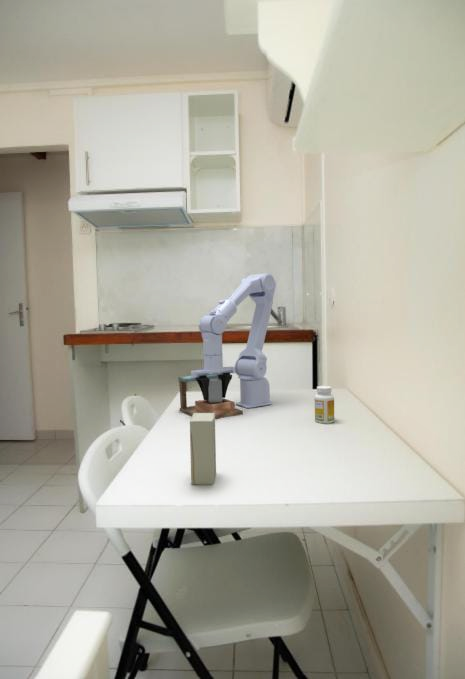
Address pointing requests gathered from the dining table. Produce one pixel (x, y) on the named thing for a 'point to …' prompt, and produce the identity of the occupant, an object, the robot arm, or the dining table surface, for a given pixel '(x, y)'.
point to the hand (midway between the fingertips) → (214, 398)
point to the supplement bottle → (324, 405)
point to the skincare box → (203, 448)
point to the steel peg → (215, 391)
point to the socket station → (206, 402)
